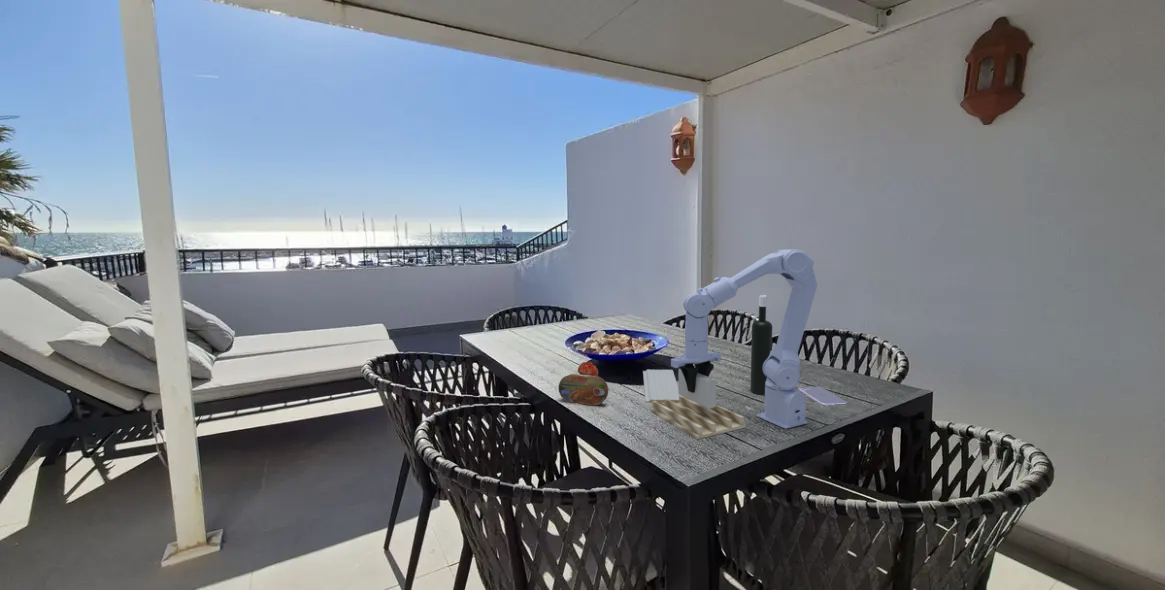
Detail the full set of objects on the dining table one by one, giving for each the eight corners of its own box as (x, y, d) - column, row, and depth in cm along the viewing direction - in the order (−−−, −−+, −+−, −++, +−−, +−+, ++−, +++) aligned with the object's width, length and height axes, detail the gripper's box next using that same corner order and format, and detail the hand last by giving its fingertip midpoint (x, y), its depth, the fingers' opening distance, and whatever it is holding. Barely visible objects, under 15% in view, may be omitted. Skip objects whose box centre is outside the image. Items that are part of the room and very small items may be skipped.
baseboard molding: (640, 404, 132) (682, 405, 131) (640, 394, 132) (682, 395, 131) (638, 373, 163) (672, 374, 162) (638, 365, 163) (672, 366, 161)
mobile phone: (822, 403, 127) (796, 386, 141) (822, 406, 127) (796, 389, 142) (849, 402, 127) (821, 385, 142) (849, 405, 127) (820, 388, 142)
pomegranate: (584, 393, 148) (607, 373, 149) (569, 376, 147) (593, 356, 148) (580, 388, 155) (602, 369, 156) (567, 372, 154) (589, 353, 155)
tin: (558, 401, 134) (557, 374, 133) (562, 398, 137) (562, 371, 136) (606, 407, 129) (605, 379, 128) (609, 404, 132) (609, 375, 131)
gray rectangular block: (715, 406, 113) (716, 379, 112) (707, 408, 112) (708, 381, 111) (685, 392, 124) (686, 368, 123) (678, 394, 123) (678, 369, 122)
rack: (745, 427, 113) (745, 416, 113) (697, 439, 107) (697, 428, 106) (694, 402, 131) (694, 393, 131) (650, 411, 125) (650, 401, 125)
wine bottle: (757, 395, 135) (760, 296, 132) (746, 389, 141) (748, 294, 137) (774, 393, 137) (777, 295, 133) (762, 388, 142) (765, 293, 139)
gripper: (708, 334, 123) (707, 382, 125) (664, 339, 117) (663, 390, 119) (726, 338, 117) (725, 389, 118) (680, 345, 111) (680, 398, 112)
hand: (696, 390), depth 118 cm, fingers closed on gray rectangular block, 2 cm apart
